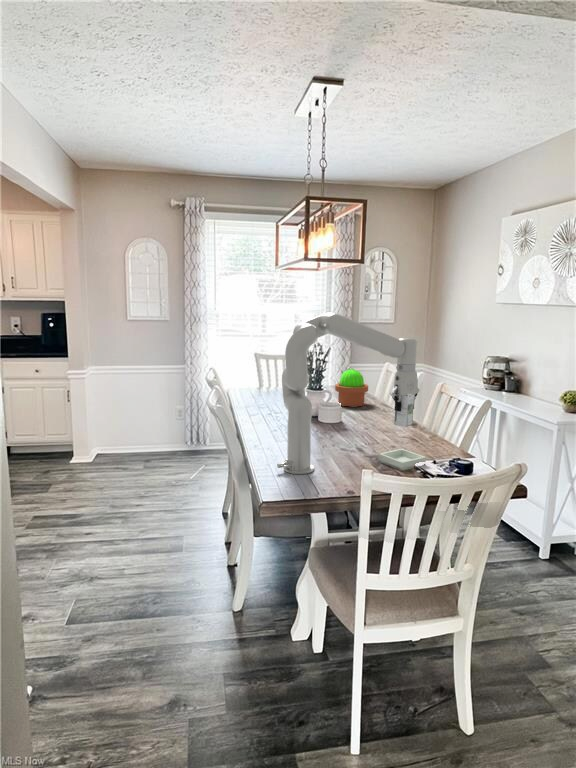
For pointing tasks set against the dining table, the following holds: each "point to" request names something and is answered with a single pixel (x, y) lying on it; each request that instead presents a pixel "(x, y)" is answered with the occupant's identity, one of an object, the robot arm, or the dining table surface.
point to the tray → (401, 459)
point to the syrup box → (405, 411)
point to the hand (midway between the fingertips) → (404, 409)
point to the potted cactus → (351, 388)
